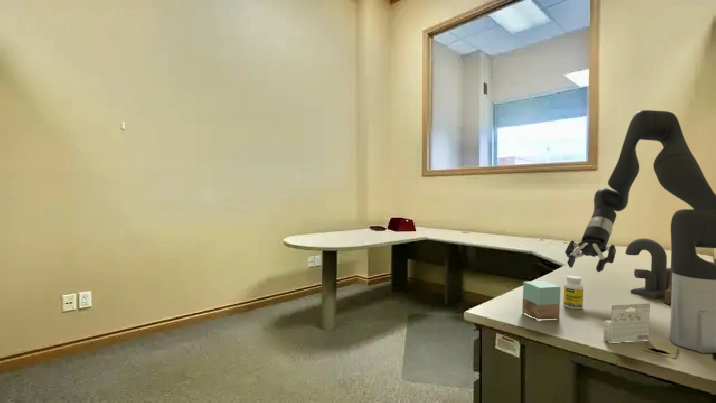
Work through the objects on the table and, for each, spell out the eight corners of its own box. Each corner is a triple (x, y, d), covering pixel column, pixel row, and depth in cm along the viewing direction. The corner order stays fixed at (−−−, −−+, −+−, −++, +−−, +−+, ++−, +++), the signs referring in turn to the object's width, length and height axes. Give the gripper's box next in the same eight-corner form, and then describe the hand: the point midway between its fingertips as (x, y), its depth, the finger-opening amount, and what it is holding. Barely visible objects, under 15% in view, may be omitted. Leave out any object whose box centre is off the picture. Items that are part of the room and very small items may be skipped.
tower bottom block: (559, 320, 107) (559, 303, 107) (538, 322, 105) (538, 305, 105) (542, 312, 114) (542, 296, 114) (522, 314, 112) (522, 298, 112)
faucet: (640, 284, 150) (641, 235, 150) (686, 294, 135) (688, 240, 135) (609, 288, 144) (611, 237, 143) (654, 299, 129) (656, 242, 128)
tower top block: (560, 303, 107) (560, 286, 106) (539, 305, 105) (539, 287, 105) (542, 296, 113) (543, 280, 113) (522, 298, 112) (523, 281, 112)
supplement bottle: (563, 307, 118) (564, 277, 118) (563, 303, 123) (563, 274, 123) (583, 310, 116) (584, 279, 115) (582, 305, 121) (582, 276, 120)
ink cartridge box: (602, 340, 93) (603, 302, 92) (640, 338, 94) (642, 300, 94) (610, 344, 90) (612, 305, 90) (649, 342, 92) (651, 303, 92)
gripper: (573, 223, 134) (558, 258, 128) (619, 227, 123) (605, 265, 116) (578, 237, 138) (564, 271, 131) (623, 241, 127) (610, 279, 120)
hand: (583, 268), depth 124 cm, fingers open, 8 cm apart
